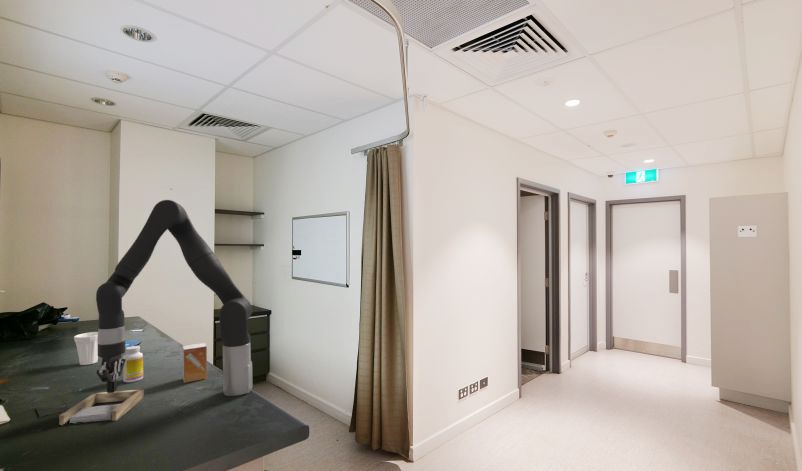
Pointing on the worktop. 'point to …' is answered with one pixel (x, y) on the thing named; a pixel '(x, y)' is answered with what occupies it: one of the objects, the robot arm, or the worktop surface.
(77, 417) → the cover plate
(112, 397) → the wooden bracket
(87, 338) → the cup
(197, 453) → the worktop surface
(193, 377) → the small box
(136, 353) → the supplement bottle
